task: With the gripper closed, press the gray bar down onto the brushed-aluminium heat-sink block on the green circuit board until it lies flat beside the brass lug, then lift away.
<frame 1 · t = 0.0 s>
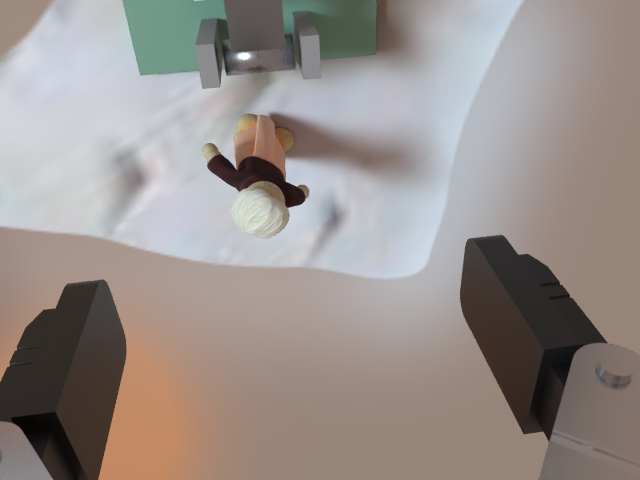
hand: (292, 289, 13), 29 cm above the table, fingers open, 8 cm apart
grandmother figurine: (256, 133, 42), on the table
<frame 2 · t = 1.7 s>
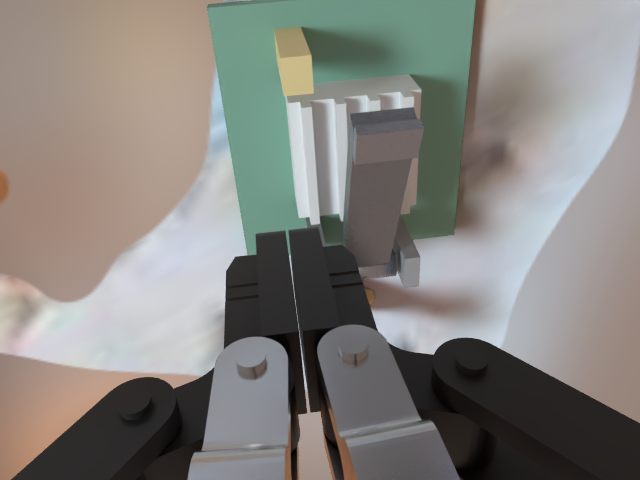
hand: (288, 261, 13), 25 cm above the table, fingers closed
gray bar: (372, 210, 32), point 9 cm above the table, hinge at 25.0°
board: (346, 132, 38), on the table
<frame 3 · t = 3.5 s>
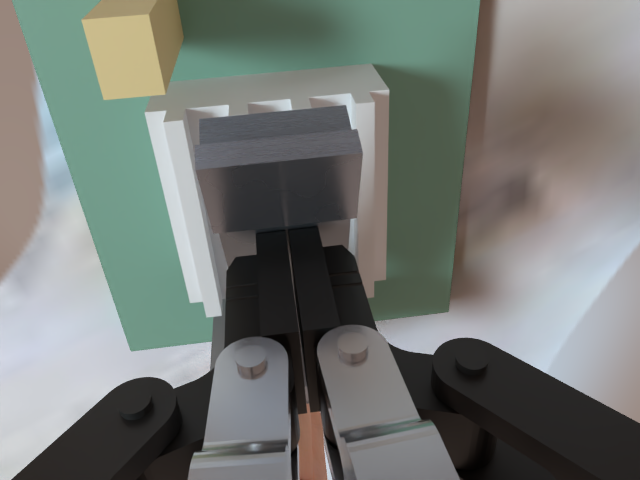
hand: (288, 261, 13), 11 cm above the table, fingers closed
gray bar: (292, 305, 17), point 9 cm above the table, hinge at 22.3°, touching gripper
grandmother figurine: (284, 387, 32), on the table
board: (274, 159, 24), on the table
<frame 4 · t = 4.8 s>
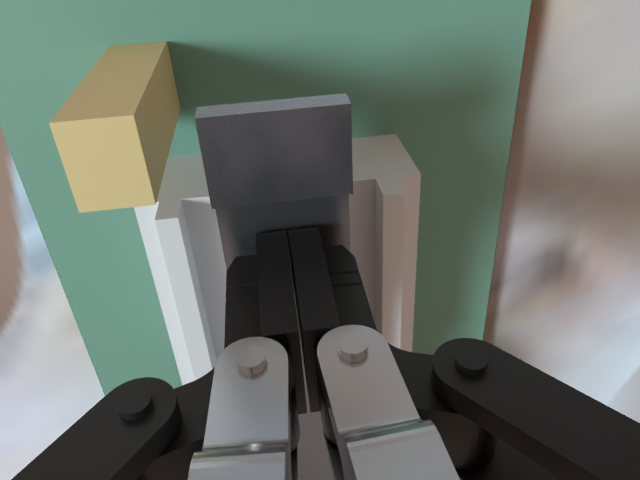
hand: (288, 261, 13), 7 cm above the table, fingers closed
gray bar: (298, 356, 16), point 6 cm above the table, hinge at 1.0°, touching gripper
board: (283, 234, 21), on the table
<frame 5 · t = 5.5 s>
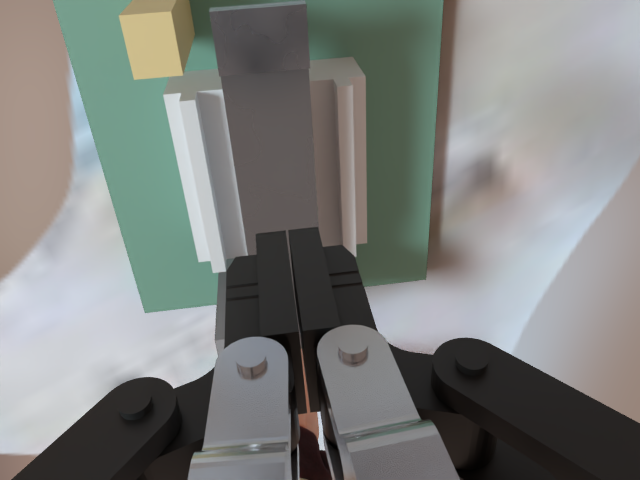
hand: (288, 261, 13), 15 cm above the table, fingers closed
gray bar: (279, 206, 22), point 6 cm above the table, hinge at 1.0°
grandmother figurine: (280, 351, 35), on the table
board: (271, 140, 27), on the table
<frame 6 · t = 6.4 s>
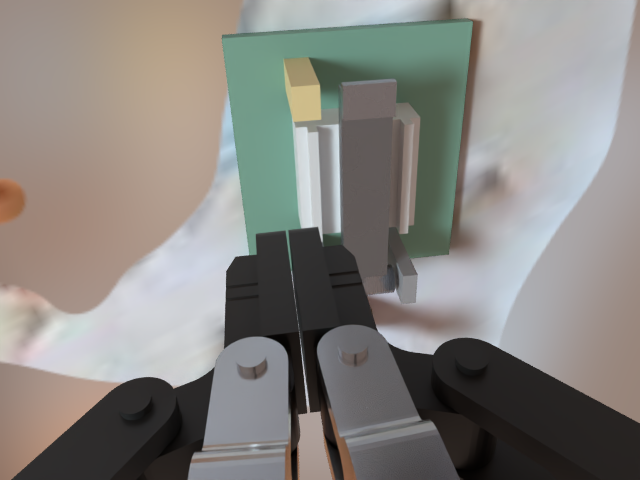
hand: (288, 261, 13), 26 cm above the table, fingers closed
gray bar: (364, 198, 36), point 6 cm above the table, hinge at 1.0°
board: (348, 155, 41), on the table
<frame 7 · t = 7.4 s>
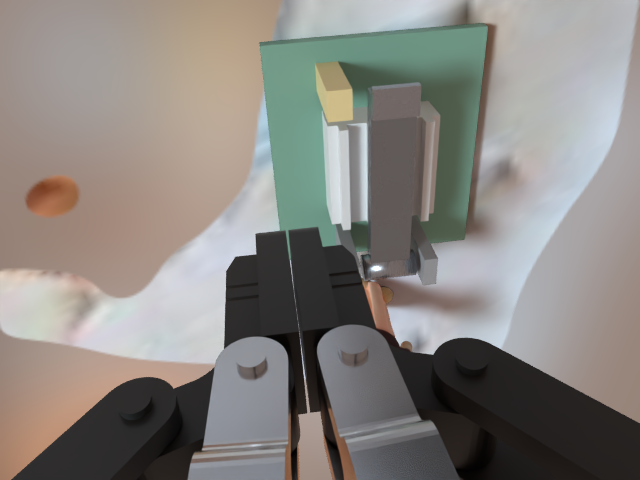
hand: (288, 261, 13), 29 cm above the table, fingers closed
gray bar: (390, 189, 39), point 6 cm above the table, hinge at 1.0°
grandmother figurine: (363, 290, 52), on the table
board: (372, 149, 44), on the table
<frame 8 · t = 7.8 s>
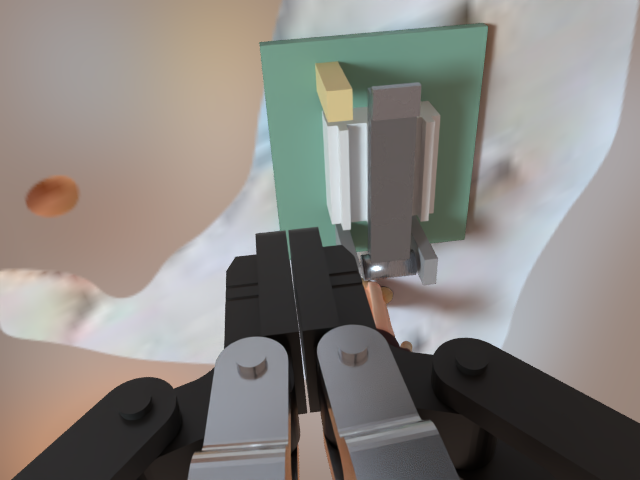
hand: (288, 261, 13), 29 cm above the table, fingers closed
gray bar: (390, 189, 39), point 6 cm above the table, hinge at 1.0°
grandmother figurine: (363, 290, 52), on the table
board: (372, 149, 44), on the table
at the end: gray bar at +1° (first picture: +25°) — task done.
